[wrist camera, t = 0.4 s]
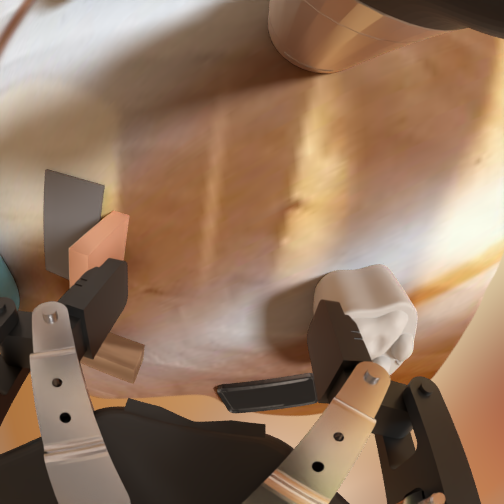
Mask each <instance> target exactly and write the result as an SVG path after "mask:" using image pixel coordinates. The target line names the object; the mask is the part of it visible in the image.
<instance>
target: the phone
mask: <svg viewBox="0 0 504 504" xmlns="http://www.w3.org/2000/svg"><path fill="white" fill-rule="evenodd" d="M217 393H218V394H219V396H220V398H221V399H222V401H223V403H224V404H225V406H226V408H227V409H228V411H229V412H232V413H246V412H257V411H266V410H275V409H283V408H290V407H297V406H303V405H309V404H314V403H317V402H318V398H317V392H316V387H315V381H314V376H313V373H305V374H300V375H294V376H287V377H281V378H274V379H267V380H259V381H251V382H242V383H232V384H222V385H219V386H218V390H217Z"/></svg>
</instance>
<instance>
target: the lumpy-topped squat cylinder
mask: <svg viewBox="0 0 504 504" xmlns="http://www.w3.org/2000/svg"><path fill="white" fill-rule="evenodd" d="M321 299H324V300H331V301H337V302H339V303H340V304H341V307H342V309H343V312H344V314H345V315H349V316H350V317H351V318H352V319H353V320H354V321H355V322H356V324H357V326H358V328H359V331H360V333H361V336H362V338H363V340H364V343H365V345H366V348H367V350H368V352H369V355H370V357H371V360H372V362H373V363H376V364H378V365H380V366H382V367H383V368H384V369H385V370H386V371H387V372H388V374H389V375H391V374H392V373H393V372H394V371H395V370H396V369H397V368H398V367H399V366H400V365H401V364H402V363H403V361H404V360H406V359H407V358H409V357H410V355H411V354H412V352H413V347H414V342H413V341H414V338H415V333H416V327H417V311H416V309H415V307H414V305H413V304H412V302H411V301H410V299H409V297H408V296H407V294H406V293H405V291H404V289H403V288H402V286H401V285H400V283H399V282H398V280H397V279H396V277H395V276H394V274H393V273H392V271H391V270H390V269H389V268H388V267H386V266H385V265H381V264H376V265H371V266H368V267H364V268H361V269H356V270H337V271H333V272H330V273H328V274H326V275H325V276H324V277H323V278H322V279H321V280H320V281H319V283H318V284H317V286H316V289H315V292H314V303H313V316H314V314H315V311H316V309H317V306H318V304H319V302H320V300H321Z"/></svg>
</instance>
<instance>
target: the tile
mask: <svg viewBox="0 0 504 504" xmlns="http://www.w3.org/2000/svg"><path fill="white" fill-rule="evenodd" d="M128 223H129V215H126V214H123V213H119V212H116V211H112V212H111V213H110V214H108V215H107V216H106V217H105V218H103V219H102V220H101V221H100V222H99V223H97V224H96V225H95V226H94V227H93V228H91V229H90V230H89V231H88V232H87V233H86V234H84V235H83V236H82V237H81V238H80V239H79V240H78V241H76V242H75V243H74V244H73V245H72V246H71V247H70V248H69V280H70V288H71V287H72V286H73V285H74V284H75V282H76V281H77V280H78V279H80V277H81V276H82V275H83V274H84V273H85V272H86V271H88V270H90V269H92V268H94V267H100V266H101V265H102V264H103V263H104V262H105V261H106V260H107V259H108V258H114V259H118V260H122V261H124V254H125V245H126V237H127V230H128Z"/></svg>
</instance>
